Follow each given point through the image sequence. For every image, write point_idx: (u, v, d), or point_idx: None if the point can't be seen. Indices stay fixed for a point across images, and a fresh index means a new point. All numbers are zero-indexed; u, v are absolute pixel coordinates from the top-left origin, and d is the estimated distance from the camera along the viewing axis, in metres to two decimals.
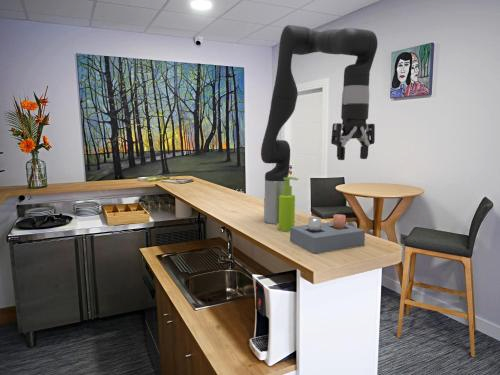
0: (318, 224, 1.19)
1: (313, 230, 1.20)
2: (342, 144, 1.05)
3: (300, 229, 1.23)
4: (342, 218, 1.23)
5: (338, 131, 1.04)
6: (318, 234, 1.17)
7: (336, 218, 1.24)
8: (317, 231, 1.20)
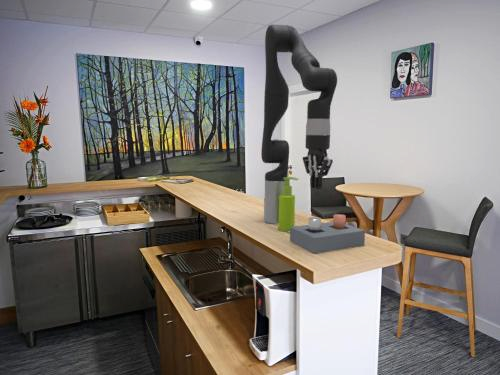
0: (318, 224, 1.19)
1: (313, 230, 1.20)
2: None
3: (300, 229, 1.23)
4: (342, 218, 1.23)
5: None
6: (318, 234, 1.17)
7: (336, 218, 1.24)
8: (317, 231, 1.20)
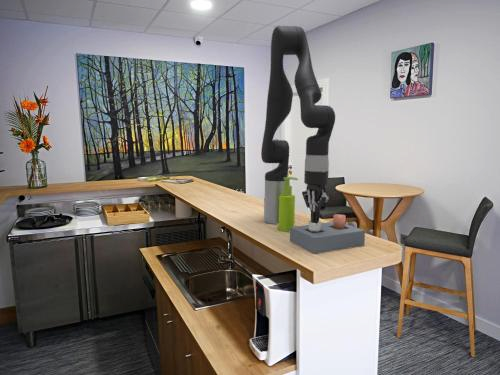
0: (318, 228, 1.20)
1: None
2: None
3: (300, 229, 1.23)
4: (342, 218, 1.23)
5: None
6: (318, 234, 1.17)
7: (336, 218, 1.24)
8: None
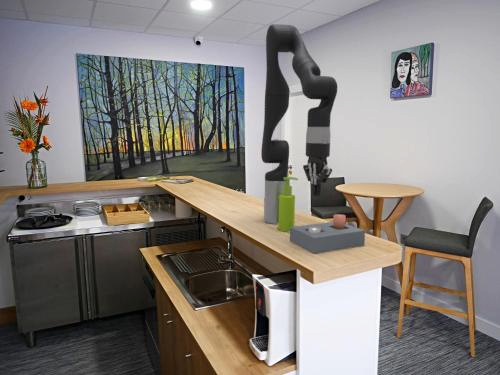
0: None
1: None
2: None
3: (300, 229, 1.23)
4: (342, 218, 1.23)
5: None
6: (318, 234, 1.17)
7: (336, 218, 1.24)
8: None
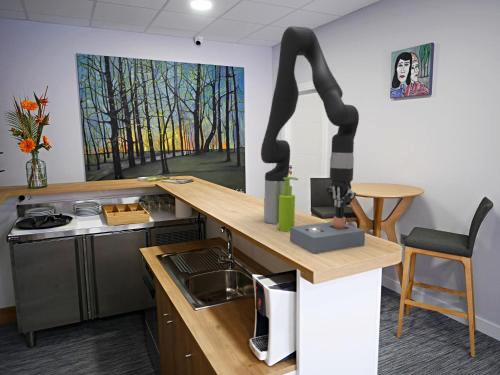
0: None
1: None
2: None
3: (300, 229, 1.23)
4: (342, 220, 1.23)
5: None
6: (318, 234, 1.17)
7: (336, 220, 1.24)
8: None
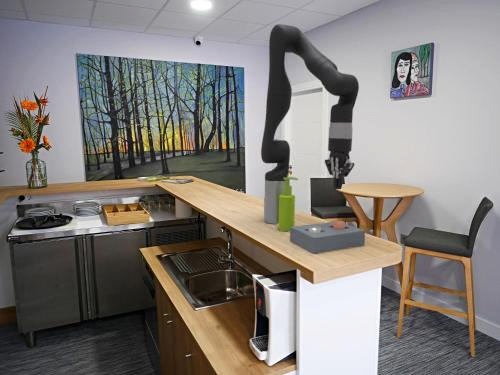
0: None
1: None
2: None
3: (300, 229, 1.23)
4: (342, 224, 1.24)
5: None
6: (318, 234, 1.17)
7: (336, 224, 1.24)
8: None
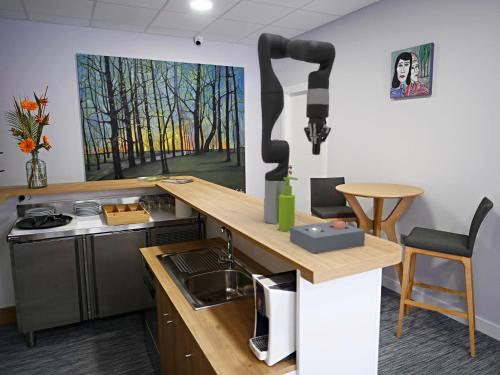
0: None
1: None
2: None
3: (300, 229, 1.23)
4: (342, 224, 1.24)
5: None
6: (318, 234, 1.17)
7: (336, 224, 1.24)
8: None
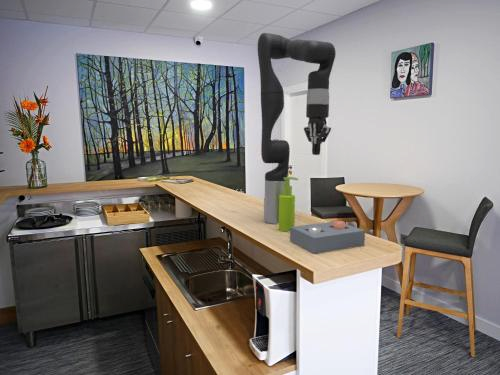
0: None
1: None
2: None
3: (300, 229, 1.23)
4: (342, 224, 1.24)
5: None
6: (318, 234, 1.17)
7: (336, 224, 1.24)
8: None
